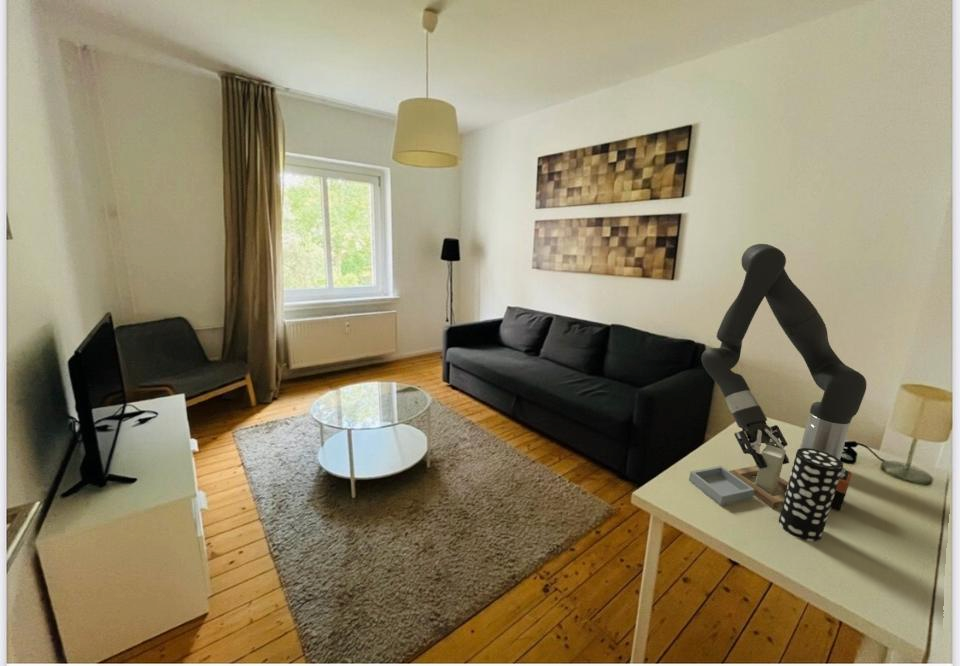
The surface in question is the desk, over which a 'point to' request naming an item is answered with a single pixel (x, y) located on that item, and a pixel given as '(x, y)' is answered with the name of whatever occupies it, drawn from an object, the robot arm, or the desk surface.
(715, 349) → the robot arm
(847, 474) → the battery
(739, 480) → the tray
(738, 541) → the desk surface
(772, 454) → the skincare box
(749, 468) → the brown flat rectangular frame
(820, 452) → the white-spotted black cylinder
